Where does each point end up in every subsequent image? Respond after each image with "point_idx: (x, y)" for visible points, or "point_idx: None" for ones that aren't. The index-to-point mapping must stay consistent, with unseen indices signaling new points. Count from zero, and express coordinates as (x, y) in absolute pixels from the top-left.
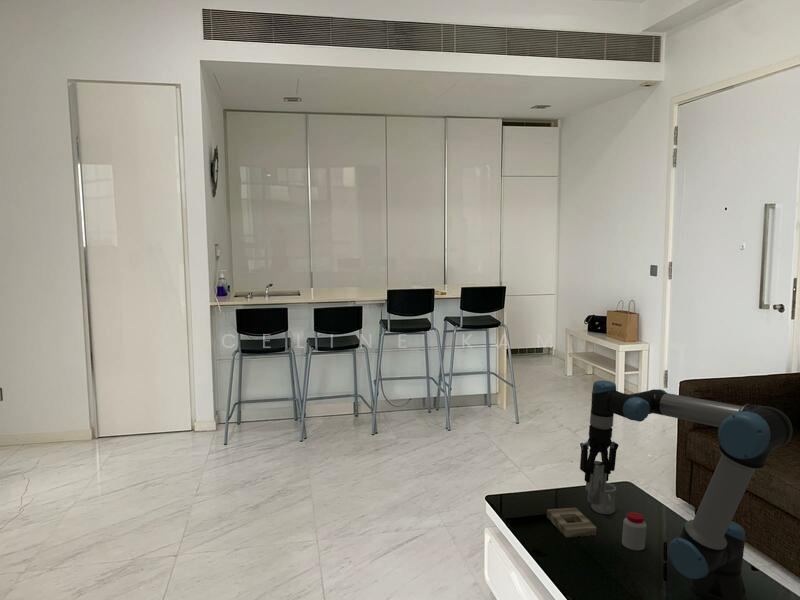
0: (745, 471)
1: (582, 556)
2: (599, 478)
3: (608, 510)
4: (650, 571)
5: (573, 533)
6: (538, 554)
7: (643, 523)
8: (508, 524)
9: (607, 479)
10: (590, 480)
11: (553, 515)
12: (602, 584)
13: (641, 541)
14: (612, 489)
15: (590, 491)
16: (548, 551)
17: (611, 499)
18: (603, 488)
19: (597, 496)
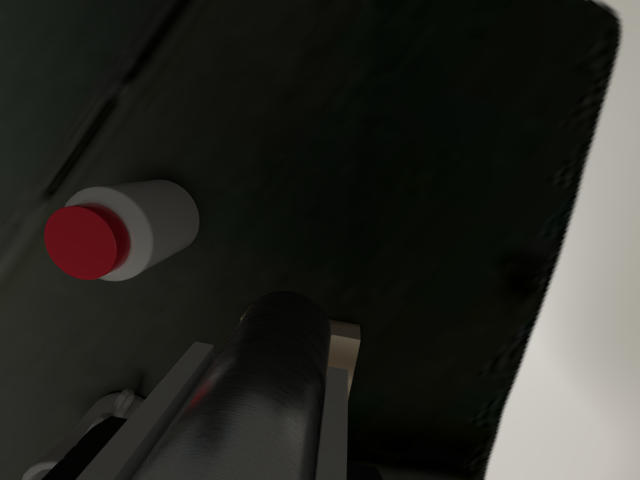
0: None
1: (386, 208)
2: (229, 457)
3: (128, 393)
4: (214, 47)
5: (332, 326)
6: (528, 266)
7: (77, 201)
8: (490, 448)
9: (97, 434)
10: (345, 475)
11: None
12: (447, 23)
13: (140, 181)
14: (42, 477)
15: (339, 373)
16: (480, 271)
17: (82, 433)
18: (201, 363)
19: (289, 322)
